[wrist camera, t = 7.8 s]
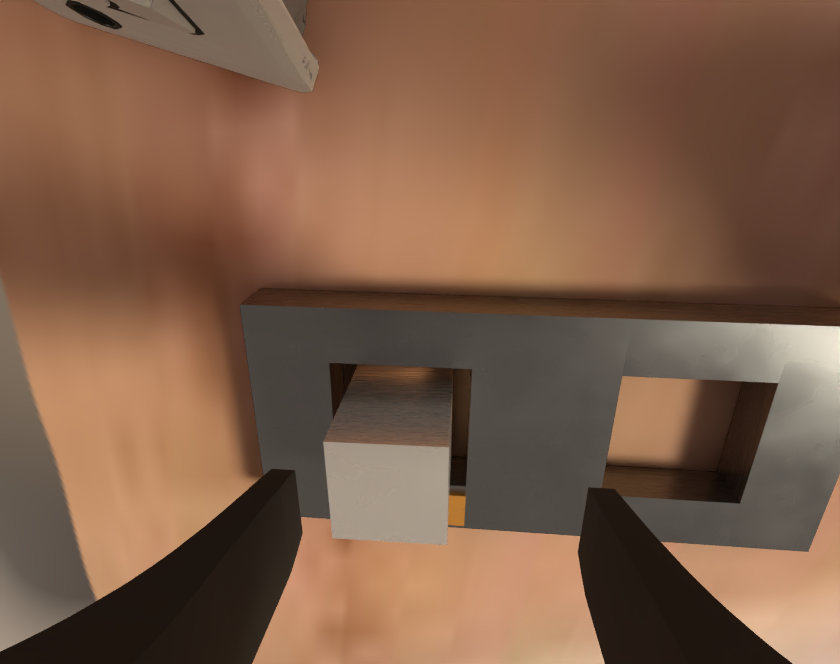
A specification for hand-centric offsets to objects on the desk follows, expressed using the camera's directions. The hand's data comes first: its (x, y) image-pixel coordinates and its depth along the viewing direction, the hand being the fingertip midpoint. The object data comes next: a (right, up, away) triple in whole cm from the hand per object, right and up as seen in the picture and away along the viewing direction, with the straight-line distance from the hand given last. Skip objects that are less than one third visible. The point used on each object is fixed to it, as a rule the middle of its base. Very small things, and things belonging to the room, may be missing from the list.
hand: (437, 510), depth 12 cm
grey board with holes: (+4, +1, +9) cm, 10 cm away
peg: (-1, +1, +10) cm, 10 cm away
